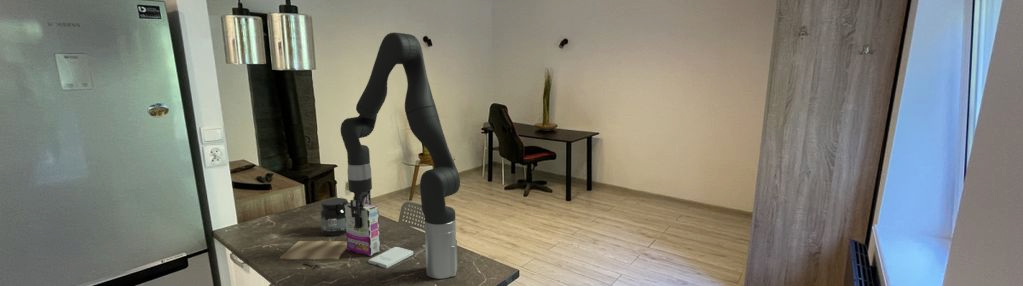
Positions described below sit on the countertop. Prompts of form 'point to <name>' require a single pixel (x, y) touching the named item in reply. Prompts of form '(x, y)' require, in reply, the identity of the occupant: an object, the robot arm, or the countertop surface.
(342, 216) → the supplement container
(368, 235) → the candy bar box
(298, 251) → the cork mat
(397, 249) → the external hard drive
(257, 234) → the countertop surface
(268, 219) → the countertop surface
